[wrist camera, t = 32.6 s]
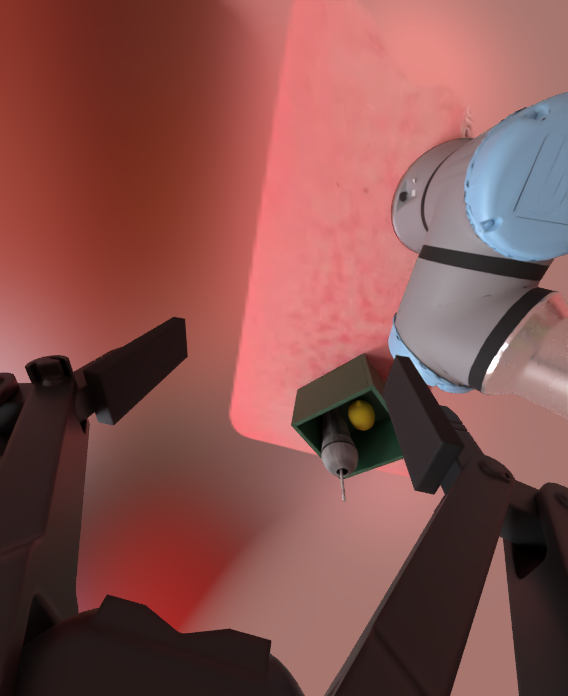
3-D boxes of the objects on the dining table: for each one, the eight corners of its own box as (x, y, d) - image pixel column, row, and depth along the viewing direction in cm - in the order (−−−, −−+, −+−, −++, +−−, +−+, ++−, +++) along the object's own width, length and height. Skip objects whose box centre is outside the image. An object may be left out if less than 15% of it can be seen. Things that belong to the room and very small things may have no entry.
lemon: (362, 412, 50) (368, 441, 53) (376, 396, 52) (382, 425, 55) (339, 404, 54) (347, 431, 57) (354, 389, 57) (360, 416, 60)
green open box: (364, 352, 52) (373, 384, 42) (404, 410, 57) (422, 451, 46) (297, 389, 59) (290, 425, 48) (338, 438, 63) (340, 480, 53)
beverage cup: (351, 405, 57) (375, 486, 40) (342, 428, 61) (360, 512, 43) (321, 399, 57) (330, 478, 39) (313, 422, 60) (319, 505, 43)
